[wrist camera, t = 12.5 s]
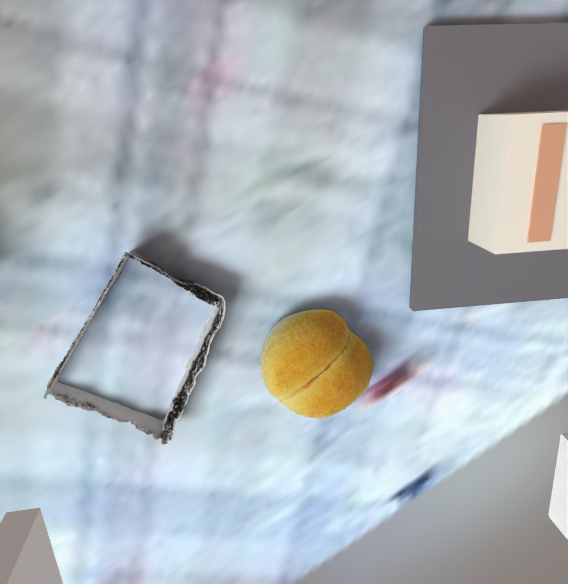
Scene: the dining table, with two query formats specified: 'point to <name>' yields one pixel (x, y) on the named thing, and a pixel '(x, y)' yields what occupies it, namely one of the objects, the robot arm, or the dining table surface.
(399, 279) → the dining table surface
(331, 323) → the bread roll
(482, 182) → the block
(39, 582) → the robot arm
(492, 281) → the charcoal mat
